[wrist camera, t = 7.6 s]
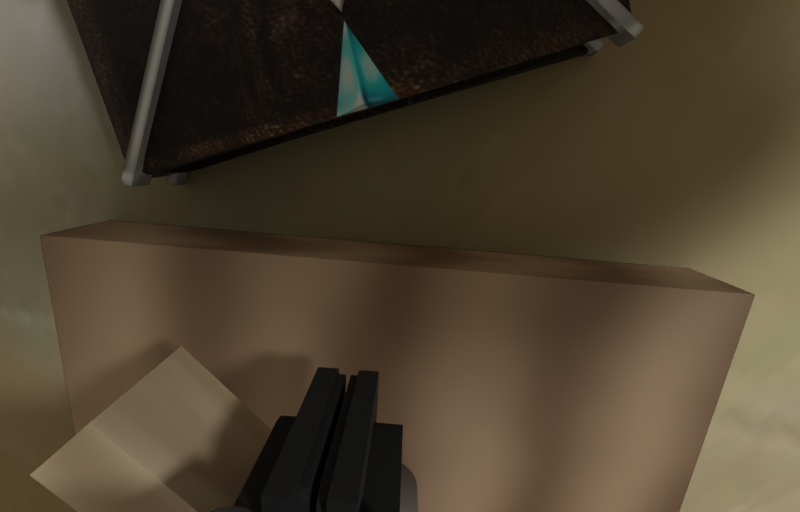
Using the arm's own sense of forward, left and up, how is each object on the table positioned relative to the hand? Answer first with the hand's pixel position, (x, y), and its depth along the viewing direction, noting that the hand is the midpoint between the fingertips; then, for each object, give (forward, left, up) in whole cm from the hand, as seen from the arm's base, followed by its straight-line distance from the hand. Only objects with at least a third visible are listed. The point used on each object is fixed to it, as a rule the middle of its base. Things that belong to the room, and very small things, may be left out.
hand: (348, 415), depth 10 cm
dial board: (-1, +6, -6) cm, 9 cm away
